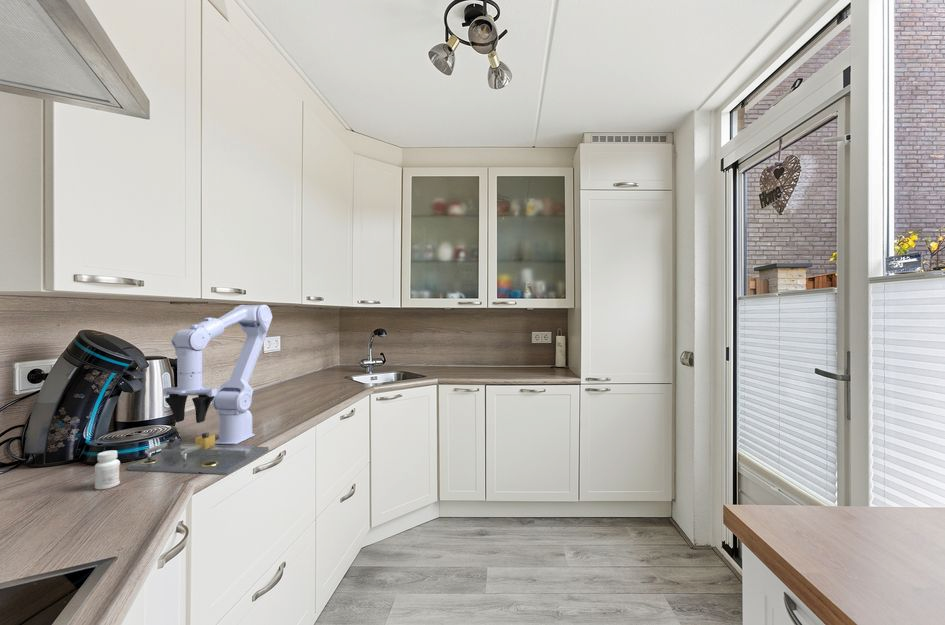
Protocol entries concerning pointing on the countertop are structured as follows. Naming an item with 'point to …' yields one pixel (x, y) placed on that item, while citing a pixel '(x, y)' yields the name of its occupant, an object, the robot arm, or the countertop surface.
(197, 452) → the rail
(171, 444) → the fixed leg
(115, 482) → the pill bottle
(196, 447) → the sliding leg
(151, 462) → the flange plate
